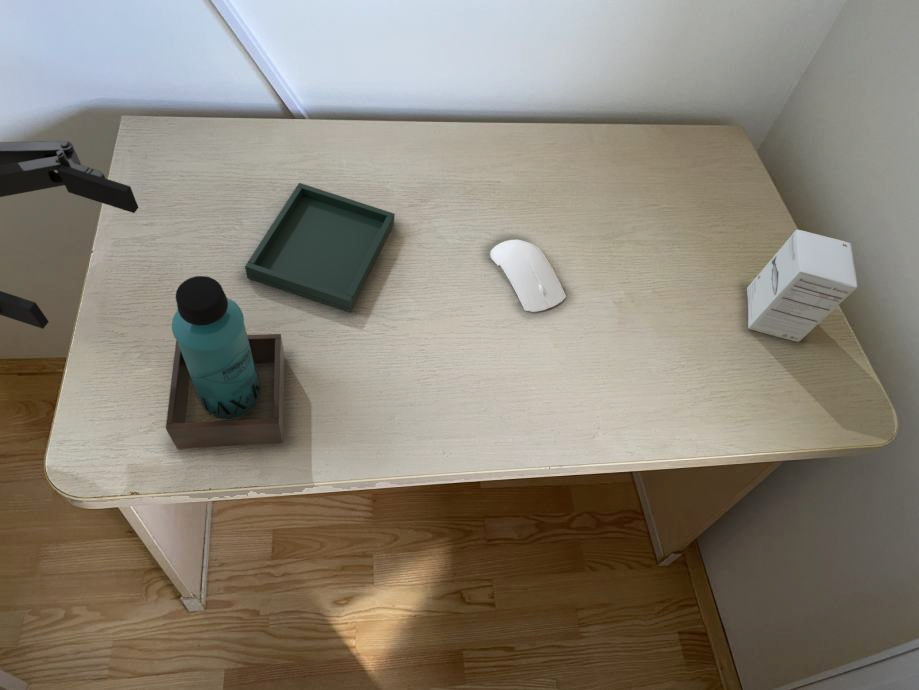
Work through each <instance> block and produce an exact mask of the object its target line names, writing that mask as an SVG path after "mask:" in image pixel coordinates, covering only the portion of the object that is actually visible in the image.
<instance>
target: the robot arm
mask: <svg viewBox="0 0 919 690" xmlns="http://www.w3.org/2000/svg"><path fill="white" fill-rule="evenodd" d="M56 171H57V172H56ZM62 186H63V187H64V186H65V188H66V191H67V193H70V194H73V195H75V196H79V197H82V198H84V199H89V200H91V201H94V202H97V203H101V204H104V205H107V206H109V207H110V206H111V207H113V208H115V209H120V210H122V211H126V212H129V213H131V214H135V213H136V211H137V210H138V209H139V205H138V203H137V199H136V197H135V195H134V192H133V189H132V187H131V185H128V184H124V183H121V182H118V181H115V180H111V179H108V178H106V176H105V174H104V173H103V172H102V171H101V170H98V169H95V168H92V167H89V166H85V165H84V164H82V163H81V160H80V158H79V156H78V153H77V152H76V150H75V147H74V144H73V143H72V142H71V141H68V140H48V141H47V140H46V141H45V140H41V141H39V140H38V141H0V198H2V197H3V198H4V197H8V196H9V197H10V196H13V195H20V194H25V193H29V192H31V193H32V192H36V191H40V190H47V189H52V188H57V187H62ZM0 316H3V317H5V318H9V319H12V320H15V321H18V322H21V323H23V324H27V325H30V326H33V327H37V328H40V329H42V330H44V328H45V327H46V326H47V325H48V324H49V320H48V318H47V316H45V314H44V313H43V311H42V310H41V308H40V306H39V305H38V304H37V302H35V301H33V300H29V299H26V298H23V297H20V296H17V295H13V294H11V293H8V292H5V291H1V290H0Z"/></svg>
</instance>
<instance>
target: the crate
mask: <svg viewBox="0 0 919 690" xmlns="http://www.w3.org/2000/svg"><path fill="white" fill-rule="evenodd" d="M247 335H248V336H247V337H248V340H249V344H250V349H251V353H252V357H253V360H254V363H273V372H274V373H273V396H272V397H273V399H272V400H273V401H272V402H273V403H272V418H271V417H270V418H254V419H253V418H252V419H228V420H212V421H193V422H192V421H190V422H186V421H187V412H188V411H187V410H188V403H189V402H188V401H189V391H190V383H191V381H190V380H191V379H190V378H191V377H190V374H188V373H189V372H188V369H186V368H187V366H186V363H185V360H184V358H183V355H182V353H181V350H180V347H179V345H178V342H177V340H176V339H175V347H174V354H173V355H174V357H173V364H172V371H171V380H170V381H171V382H170V390H169V396H168V397H169V398H168V406H167V414H166V422H165V423H166V424H165V429H166V432H167V433H168V435H169V437H170V439H171V441H172V442H173V444H174V446H175V448H176V449H177V450H180V449H182V450H183V449H198V448H199V449H201V448H217V447H235V446H253V445H254V446H255V445H269V444H283V443H284V426H285V425H284V419H285V372H286V371H285V369H286V367H285V366H286V365H285V363H286V358H285V351H284V344H283V337H282V334H281V333H266V334H265V333H263V334H247ZM249 338H250V339H249ZM252 351H253V352H252Z"/></svg>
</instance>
